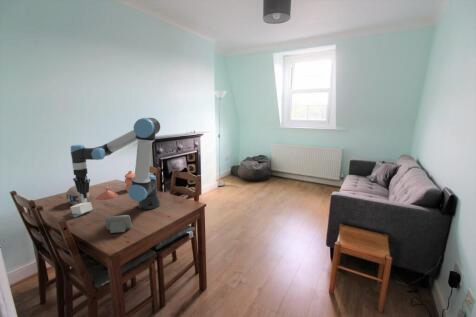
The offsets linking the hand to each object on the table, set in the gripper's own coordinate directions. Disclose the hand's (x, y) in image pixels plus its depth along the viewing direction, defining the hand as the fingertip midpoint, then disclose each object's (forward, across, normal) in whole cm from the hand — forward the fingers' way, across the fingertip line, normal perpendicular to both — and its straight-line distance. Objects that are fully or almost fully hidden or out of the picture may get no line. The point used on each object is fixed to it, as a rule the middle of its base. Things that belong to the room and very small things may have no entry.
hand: (84, 202), depth 157 cm
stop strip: (+8, +2, 0) cm, 9 cm away
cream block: (+4, -1, 0) cm, 4 cm away
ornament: (+9, +21, -11) cm, 25 cm away
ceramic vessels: (+9, +10, -35) cm, 37 cm away
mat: (+8, +8, 0) cm, 12 cm away
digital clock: (+9, -38, +9) cm, 40 cm away
